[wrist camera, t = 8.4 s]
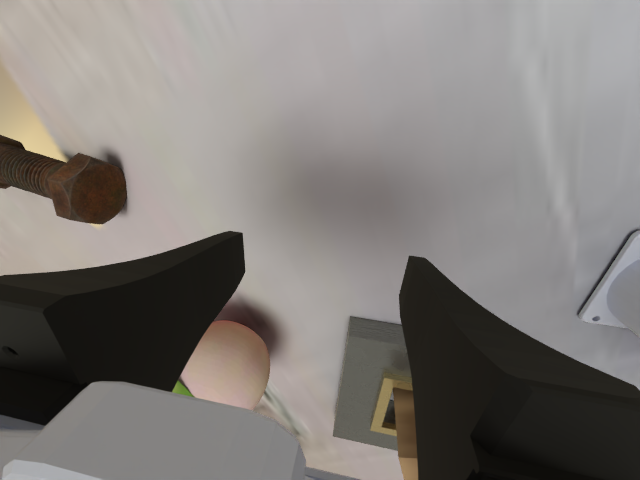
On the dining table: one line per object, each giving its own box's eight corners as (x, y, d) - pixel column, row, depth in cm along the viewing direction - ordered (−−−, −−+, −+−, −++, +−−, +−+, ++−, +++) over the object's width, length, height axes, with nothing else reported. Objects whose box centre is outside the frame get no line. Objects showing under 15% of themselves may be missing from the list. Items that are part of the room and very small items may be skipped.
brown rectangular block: (436, 368, 27) (460, 460, 20) (440, 397, 29) (463, 491, 22) (391, 370, 28) (398, 457, 21) (397, 397, 30) (406, 487, 23)
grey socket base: (527, 346, 24) (548, 377, 21) (470, 443, 31) (480, 475, 28) (350, 316, 26) (348, 341, 23) (335, 414, 33) (332, 442, 30)
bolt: (-3, 132, 26) (138, 175, 25) (-21, 182, 26) (120, 227, 24) (-102, 96, 20) (77, 150, 19) (-126, 160, 20) (54, 218, 19)
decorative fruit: (300, 327, 28) (267, 430, 19) (265, 367, 31) (224, 468, 23) (221, 280, 27) (147, 365, 18) (195, 326, 30) (123, 416, 22)
